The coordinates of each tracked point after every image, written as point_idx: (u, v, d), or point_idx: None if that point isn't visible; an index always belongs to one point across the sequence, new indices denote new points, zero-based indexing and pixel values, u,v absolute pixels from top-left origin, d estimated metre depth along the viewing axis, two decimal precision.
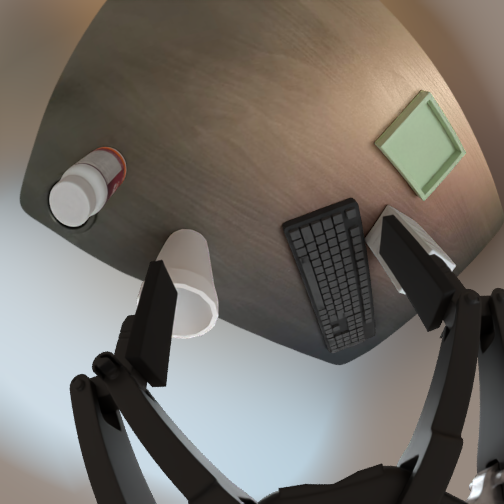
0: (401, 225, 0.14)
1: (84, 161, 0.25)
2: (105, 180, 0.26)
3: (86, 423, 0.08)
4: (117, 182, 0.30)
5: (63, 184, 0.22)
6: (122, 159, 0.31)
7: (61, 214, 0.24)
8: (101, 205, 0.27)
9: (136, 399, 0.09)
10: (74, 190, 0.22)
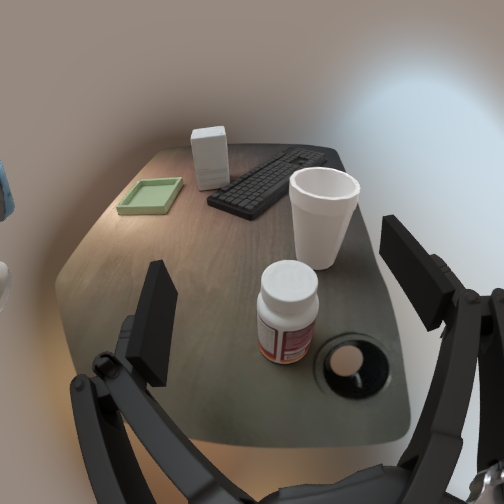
0: (401, 225, 0.14)
1: (259, 320, 0.27)
2: None
3: (86, 423, 0.08)
4: None
5: (268, 289, 0.24)
6: None
7: (306, 283, 0.24)
8: None
9: (136, 399, 0.09)
10: (268, 277, 0.25)
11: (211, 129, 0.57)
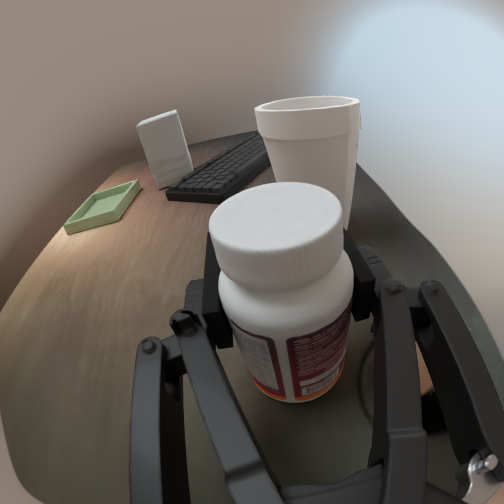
0: None
1: (232, 326, 0.12)
2: None
3: (145, 389, 0.09)
4: None
5: (225, 236, 0.10)
6: None
7: (316, 208, 0.10)
8: None
9: (207, 362, 0.10)
10: (225, 216, 0.11)
11: (161, 114, 0.45)
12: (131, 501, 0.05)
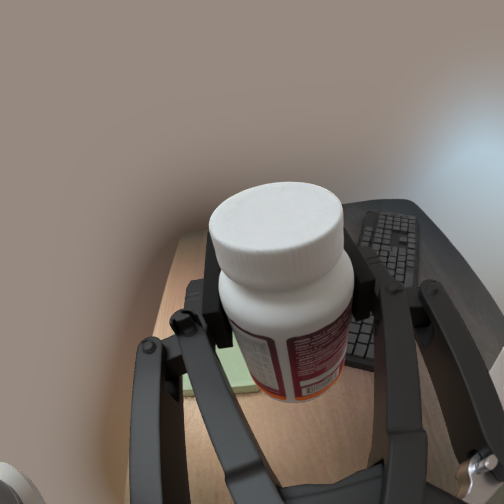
0: None
1: (232, 326, 0.12)
2: None
3: (145, 389, 0.09)
4: None
5: (225, 236, 0.10)
6: None
7: (316, 208, 0.10)
8: None
9: (207, 362, 0.10)
10: (225, 216, 0.11)
11: None
12: (131, 501, 0.05)
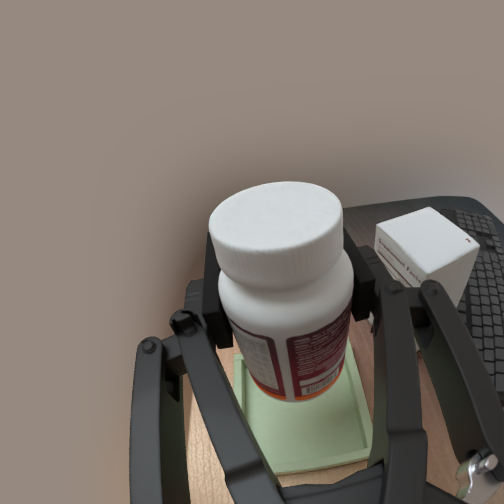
0: None
1: (231, 325, 0.12)
2: None
3: (145, 389, 0.09)
4: None
5: (225, 235, 0.10)
6: None
7: (316, 208, 0.10)
8: None
9: (207, 362, 0.10)
10: (224, 215, 0.11)
11: (425, 222, 0.21)
12: (131, 501, 0.05)
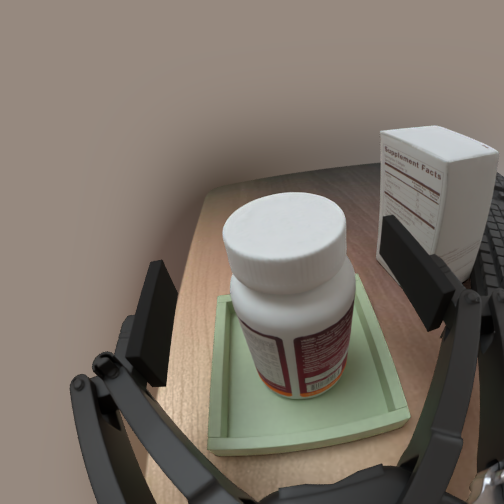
0: (401, 225, 0.14)
1: (242, 326, 0.13)
2: None
3: (86, 423, 0.08)
4: None
5: (239, 245, 0.11)
6: None
7: (321, 219, 0.11)
8: None
9: (136, 399, 0.09)
10: (237, 225, 0.12)
11: (435, 132, 0.17)
12: None
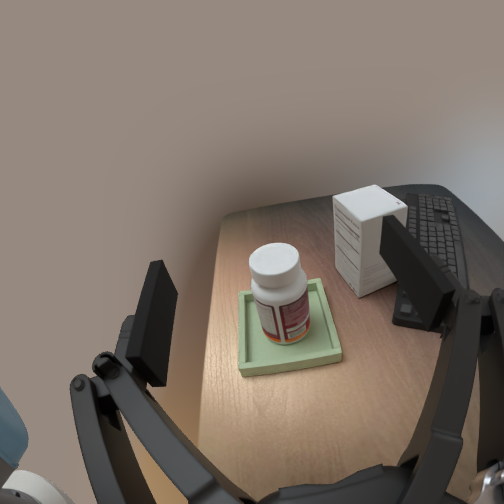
0: (401, 225, 0.14)
1: (256, 303, 0.30)
2: None
3: (86, 423, 0.08)
4: None
5: (256, 269, 0.27)
6: None
7: (289, 257, 0.28)
8: None
9: (136, 399, 0.09)
10: (255, 260, 0.28)
11: (368, 193, 0.33)
12: None
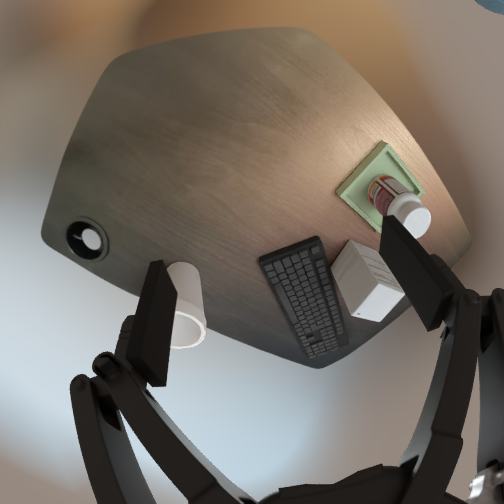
0: (401, 225, 0.14)
1: (408, 190, 0.36)
2: None
3: (86, 423, 0.08)
4: None
5: (422, 209, 0.32)
6: None
7: (408, 229, 0.34)
8: None
9: (136, 399, 0.09)
10: (426, 215, 0.33)
11: (382, 310, 0.42)
12: None
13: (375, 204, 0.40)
